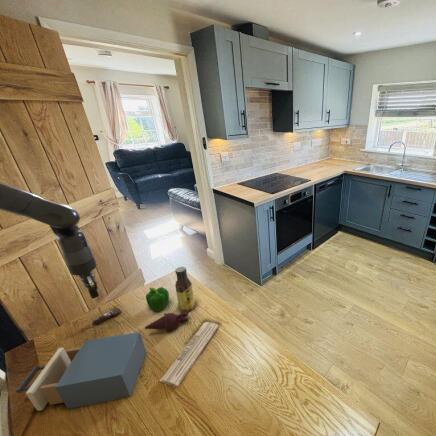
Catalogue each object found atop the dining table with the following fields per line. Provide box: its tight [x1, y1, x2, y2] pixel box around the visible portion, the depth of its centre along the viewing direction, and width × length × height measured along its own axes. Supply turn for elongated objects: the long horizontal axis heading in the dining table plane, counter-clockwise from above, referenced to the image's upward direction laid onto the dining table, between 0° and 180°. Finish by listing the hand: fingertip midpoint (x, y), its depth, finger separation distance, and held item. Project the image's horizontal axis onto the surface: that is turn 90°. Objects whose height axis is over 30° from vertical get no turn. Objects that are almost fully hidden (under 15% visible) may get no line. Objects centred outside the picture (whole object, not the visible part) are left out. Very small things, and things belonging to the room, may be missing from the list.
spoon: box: [91, 308, 122, 326], centre depth 96 cm, size 10×3×2 cm, turn 141°
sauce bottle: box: [174, 266, 196, 313], centre depth 99 cm, size 7×6×20 cm
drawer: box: [15, 346, 82, 412], centre depth 71 cm, size 20×14×8 cm
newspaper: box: [158, 321, 219, 388], centre depth 84 cm, size 24×7×2 cm, turn 165°
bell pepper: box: [145, 286, 170, 312], centre depth 101 cm, size 8×8×10 cm
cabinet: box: [55, 331, 147, 410], centre depth 73 cm, size 16×15×10 cm
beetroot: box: [144, 311, 189, 333], centre depth 92 cm, size 7×7×15 cm
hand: (95, 296), depth 91 cm, fingers closed
